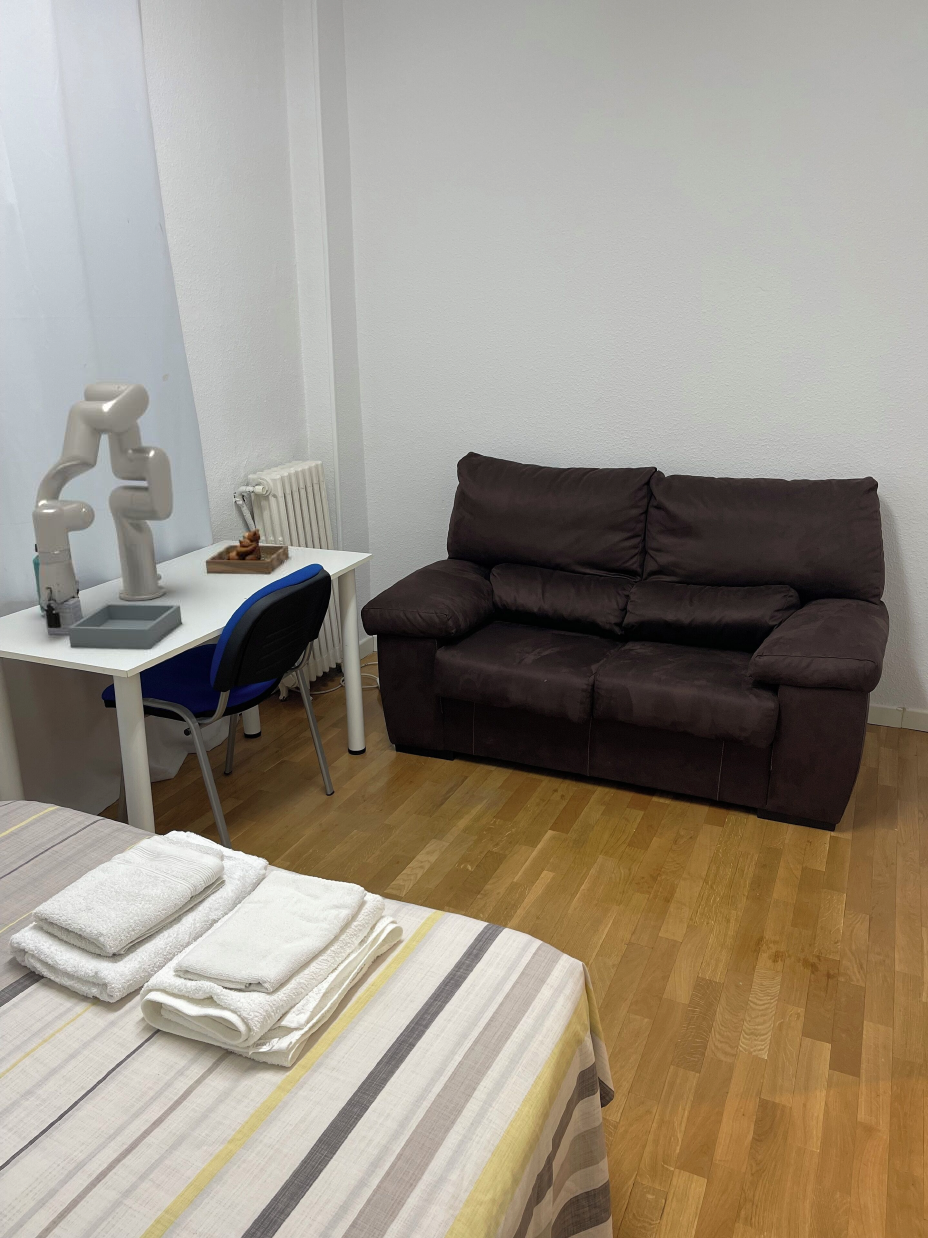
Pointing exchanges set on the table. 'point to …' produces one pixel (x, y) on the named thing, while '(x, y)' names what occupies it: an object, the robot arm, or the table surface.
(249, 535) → the bear figurine
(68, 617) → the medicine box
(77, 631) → the bin
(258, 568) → the wooden tray
